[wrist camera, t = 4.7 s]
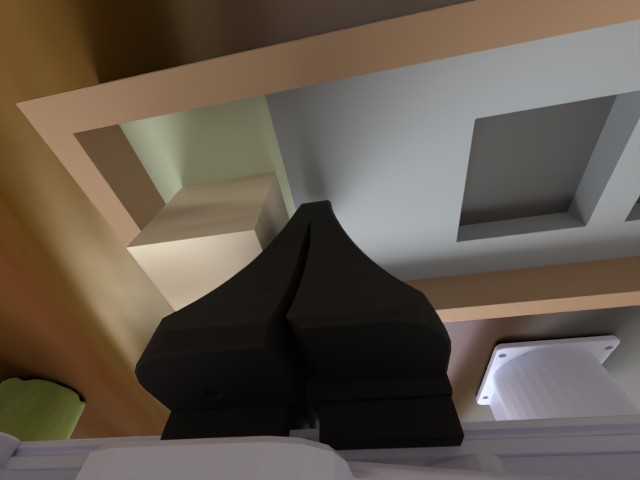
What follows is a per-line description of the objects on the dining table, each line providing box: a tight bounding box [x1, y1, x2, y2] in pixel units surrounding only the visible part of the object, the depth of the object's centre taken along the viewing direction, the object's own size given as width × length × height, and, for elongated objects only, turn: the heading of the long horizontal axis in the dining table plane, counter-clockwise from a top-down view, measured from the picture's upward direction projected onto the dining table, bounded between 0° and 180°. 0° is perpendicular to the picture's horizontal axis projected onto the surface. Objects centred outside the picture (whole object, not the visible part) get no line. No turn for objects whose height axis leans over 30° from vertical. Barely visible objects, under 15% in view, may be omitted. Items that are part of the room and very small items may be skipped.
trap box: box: [16, 0, 640, 322], centre depth 11 cm, size 12×27×4 cm, turn 100°
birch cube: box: [126, 172, 290, 311], centre depth 11 cm, size 4×4×4 cm
